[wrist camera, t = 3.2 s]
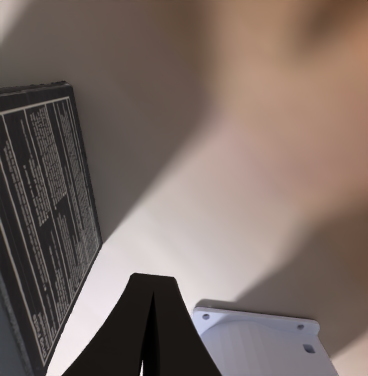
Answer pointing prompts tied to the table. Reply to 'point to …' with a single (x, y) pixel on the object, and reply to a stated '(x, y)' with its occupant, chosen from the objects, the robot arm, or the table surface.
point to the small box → (41, 223)
